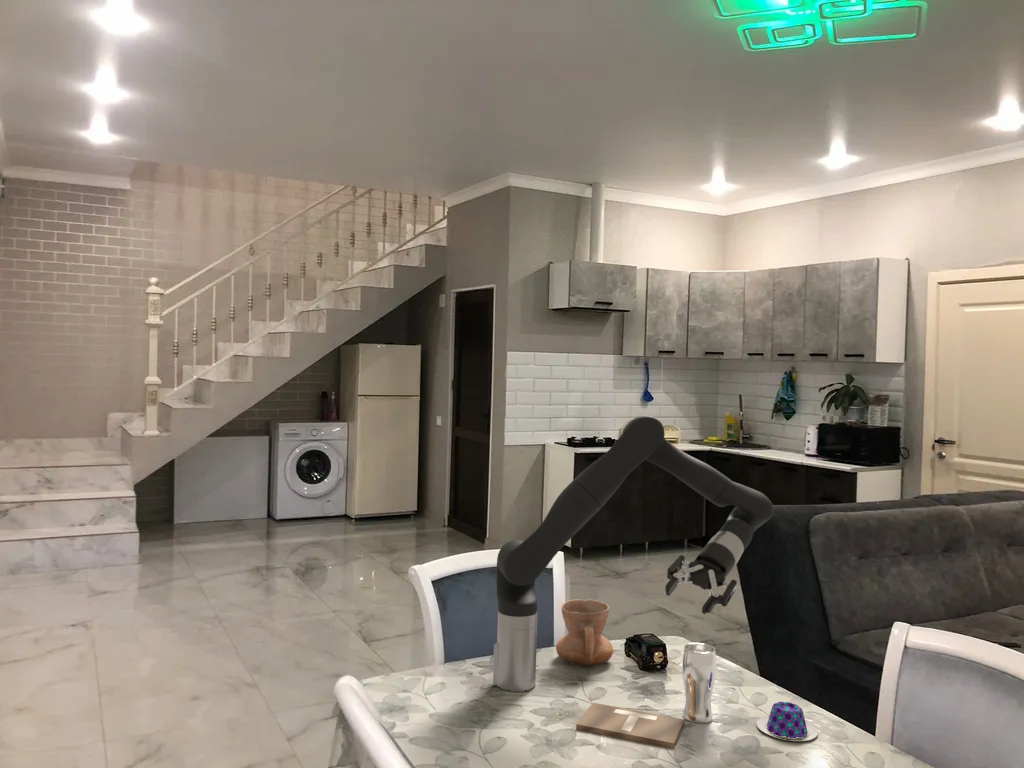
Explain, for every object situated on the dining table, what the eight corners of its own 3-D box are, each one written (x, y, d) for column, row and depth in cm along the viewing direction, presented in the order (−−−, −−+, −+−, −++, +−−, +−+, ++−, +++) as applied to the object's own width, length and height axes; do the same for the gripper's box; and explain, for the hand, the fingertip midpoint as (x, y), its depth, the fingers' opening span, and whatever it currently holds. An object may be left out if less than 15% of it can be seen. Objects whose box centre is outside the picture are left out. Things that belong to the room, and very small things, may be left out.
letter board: (576, 728, 164) (576, 723, 164) (592, 707, 175) (592, 702, 175) (673, 748, 156) (673, 742, 156) (684, 724, 167) (684, 719, 167)
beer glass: (715, 726, 167) (717, 654, 167) (681, 722, 168) (683, 651, 168) (713, 712, 174) (715, 644, 173) (681, 709, 175) (682, 641, 175)
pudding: (821, 748, 159) (821, 722, 159) (757, 740, 162) (758, 714, 162) (814, 723, 170) (814, 698, 170) (755, 716, 173) (756, 691, 173)
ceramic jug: (554, 648, 213) (555, 595, 212) (609, 649, 212) (609, 596, 212) (557, 674, 195) (558, 617, 194) (617, 675, 194) (618, 618, 194)
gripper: (692, 530, 181) (656, 575, 171) (751, 556, 173) (717, 605, 163) (691, 553, 186) (655, 598, 175) (748, 580, 178) (714, 629, 168)
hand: (685, 601), depth 169 cm, fingers open, 8 cm apart
